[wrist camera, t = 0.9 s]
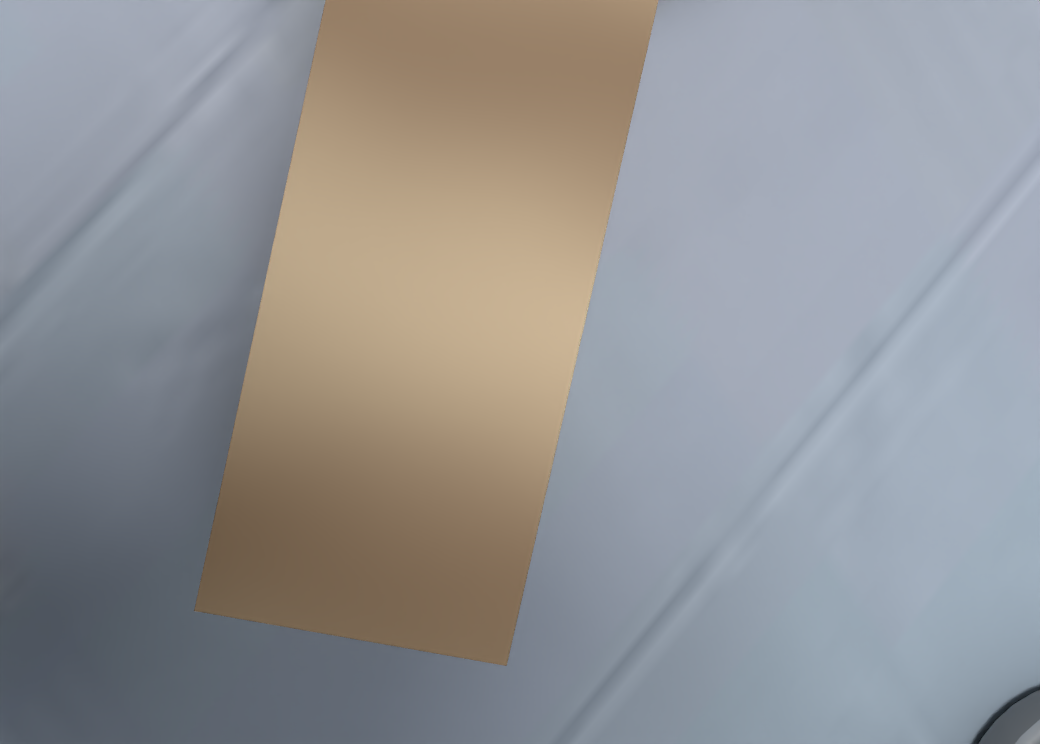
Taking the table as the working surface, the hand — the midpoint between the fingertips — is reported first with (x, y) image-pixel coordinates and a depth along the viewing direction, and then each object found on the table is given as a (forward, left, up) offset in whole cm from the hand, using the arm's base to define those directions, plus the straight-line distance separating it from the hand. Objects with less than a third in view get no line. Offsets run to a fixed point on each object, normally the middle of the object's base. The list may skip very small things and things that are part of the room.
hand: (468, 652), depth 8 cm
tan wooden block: (+4, +1, -15) cm, 15 cm away
